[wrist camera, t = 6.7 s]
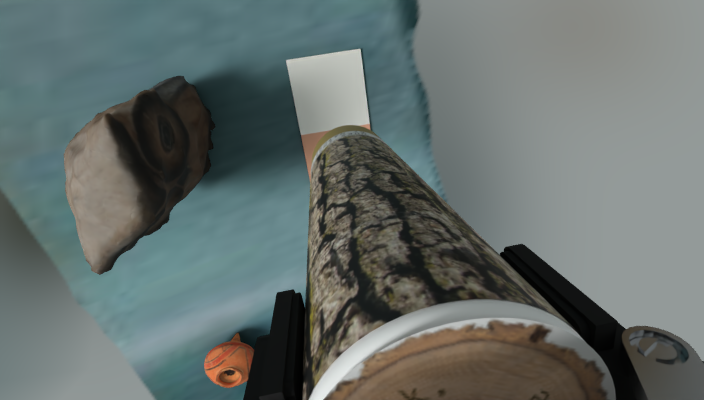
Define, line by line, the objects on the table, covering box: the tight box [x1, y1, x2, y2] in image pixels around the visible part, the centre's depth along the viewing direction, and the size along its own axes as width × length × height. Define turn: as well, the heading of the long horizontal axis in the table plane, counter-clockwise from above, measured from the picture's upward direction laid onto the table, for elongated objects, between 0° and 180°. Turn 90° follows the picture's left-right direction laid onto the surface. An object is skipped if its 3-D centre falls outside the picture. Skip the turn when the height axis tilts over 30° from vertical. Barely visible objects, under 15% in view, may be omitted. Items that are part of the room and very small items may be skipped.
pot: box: [204, 333, 254, 388], centre depth 52 cm, size 8×8×7 cm
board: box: [286, 49, 370, 182], centre depth 42 cm, size 28×9×1 cm, turn 8°
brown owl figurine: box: [64, 76, 215, 275], centre depth 33 cm, size 13×13×20 cm
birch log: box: [301, 125, 616, 400], centre depth 19 cm, size 7×7×25 cm
